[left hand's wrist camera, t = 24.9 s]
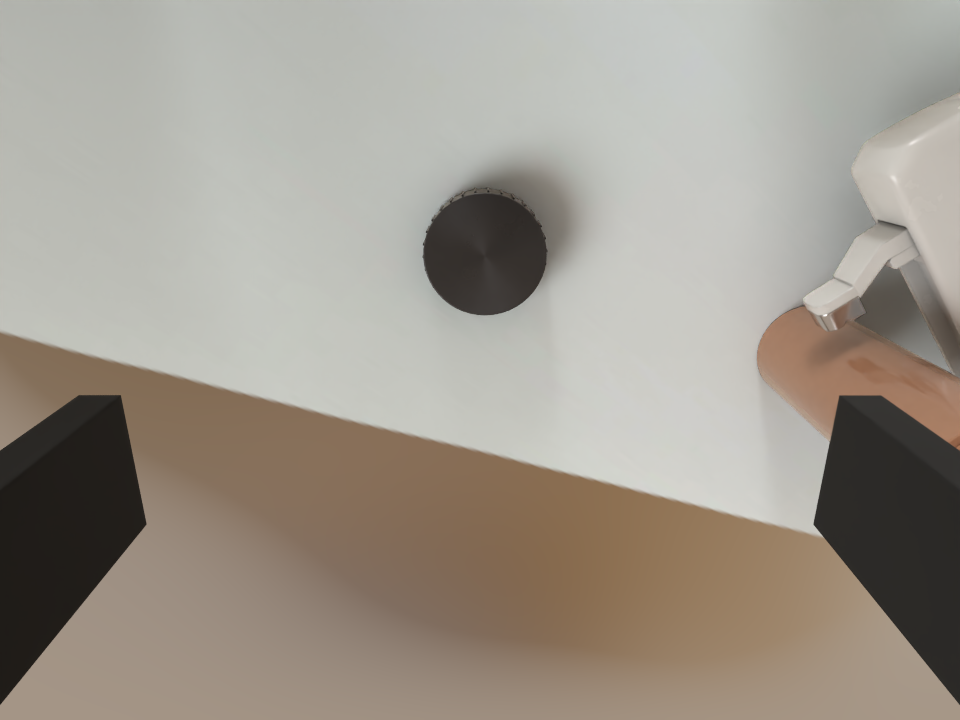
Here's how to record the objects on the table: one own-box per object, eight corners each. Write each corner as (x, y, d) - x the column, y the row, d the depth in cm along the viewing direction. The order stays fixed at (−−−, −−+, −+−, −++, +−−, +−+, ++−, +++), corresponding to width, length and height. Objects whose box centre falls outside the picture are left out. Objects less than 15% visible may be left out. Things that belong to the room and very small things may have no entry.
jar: (736, 352, 38) (921, 521, 22) (815, 284, 37) (1071, 412, 21) (795, 413, 40) (1010, 615, 23) (873, 350, 38) (1157, 517, 22)
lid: (517, 321, 38) (519, 333, 36) (409, 280, 37) (404, 291, 35) (562, 213, 36) (568, 219, 33) (449, 168, 35) (447, 171, 33)
